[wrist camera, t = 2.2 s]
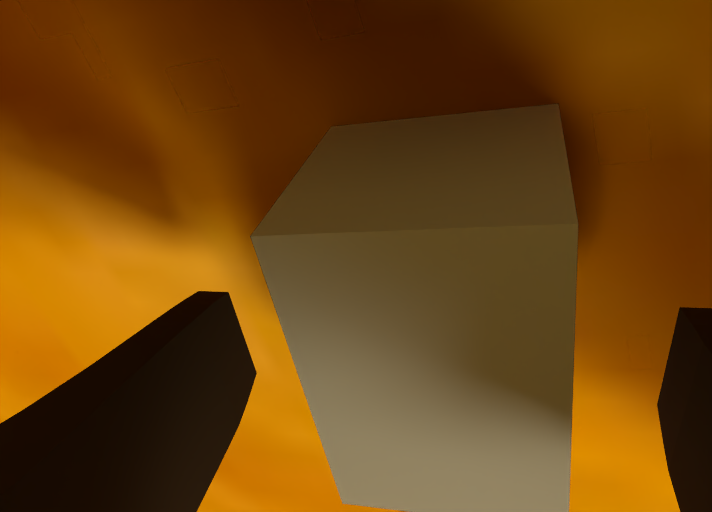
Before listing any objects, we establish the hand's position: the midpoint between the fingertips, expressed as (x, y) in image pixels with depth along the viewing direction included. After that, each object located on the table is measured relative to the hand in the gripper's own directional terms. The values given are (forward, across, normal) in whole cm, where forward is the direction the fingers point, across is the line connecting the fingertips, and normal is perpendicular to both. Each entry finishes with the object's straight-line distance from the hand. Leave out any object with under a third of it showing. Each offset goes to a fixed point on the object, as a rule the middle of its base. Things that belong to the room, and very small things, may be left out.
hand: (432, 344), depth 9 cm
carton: (+3, 0, 0) cm, 3 cm away
